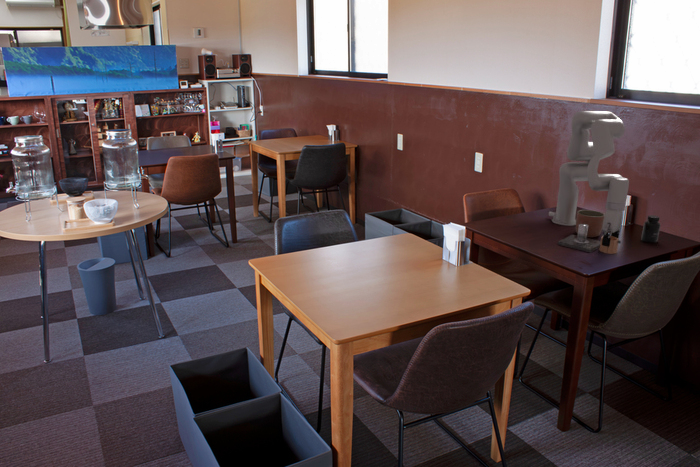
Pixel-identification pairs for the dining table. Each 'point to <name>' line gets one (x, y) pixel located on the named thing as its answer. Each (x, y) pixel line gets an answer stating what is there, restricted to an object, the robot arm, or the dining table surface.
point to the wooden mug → (612, 248)
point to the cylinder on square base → (580, 240)
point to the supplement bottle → (651, 229)
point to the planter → (590, 221)
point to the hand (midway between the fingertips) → (609, 243)
